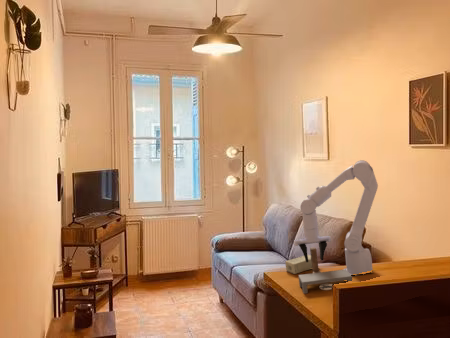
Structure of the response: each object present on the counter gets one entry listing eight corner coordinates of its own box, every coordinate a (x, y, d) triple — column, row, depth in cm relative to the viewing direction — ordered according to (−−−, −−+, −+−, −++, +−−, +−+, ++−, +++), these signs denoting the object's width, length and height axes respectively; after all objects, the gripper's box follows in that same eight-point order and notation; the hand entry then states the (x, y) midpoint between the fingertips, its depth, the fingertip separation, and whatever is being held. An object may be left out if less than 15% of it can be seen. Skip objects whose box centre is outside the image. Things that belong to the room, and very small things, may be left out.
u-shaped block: (346, 279, 164) (345, 269, 163) (353, 287, 156) (352, 276, 155) (299, 285, 164) (298, 275, 163) (303, 293, 156) (302, 282, 155)
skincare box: (294, 274, 177) (318, 267, 182) (293, 264, 176) (317, 257, 182) (285, 270, 182) (309, 264, 188) (284, 260, 182) (308, 254, 187)
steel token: (331, 285, 161) (331, 282, 161) (335, 290, 156) (334, 287, 156) (318, 287, 161) (317, 284, 161) (321, 291, 156) (321, 289, 156)
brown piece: (322, 270, 178) (319, 246, 177) (329, 280, 165) (327, 255, 164) (307, 272, 178) (305, 248, 177) (314, 282, 165) (311, 257, 164)
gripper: (326, 223, 179) (329, 255, 180) (291, 228, 179) (295, 259, 180) (330, 227, 172) (334, 260, 173) (294, 231, 172) (298, 265, 173)
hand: (314, 260), depth 176 cm, fingers open, 5 cm apart
